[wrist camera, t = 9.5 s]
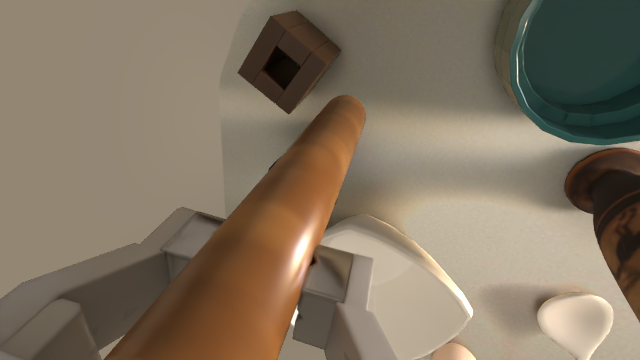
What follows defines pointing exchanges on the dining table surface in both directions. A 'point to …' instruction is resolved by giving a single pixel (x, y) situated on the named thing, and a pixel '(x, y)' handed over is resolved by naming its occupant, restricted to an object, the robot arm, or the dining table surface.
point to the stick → (254, 256)
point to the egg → (452, 352)
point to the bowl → (403, 287)
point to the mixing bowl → (573, 67)
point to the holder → (278, 70)
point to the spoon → (576, 322)
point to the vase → (613, 212)
